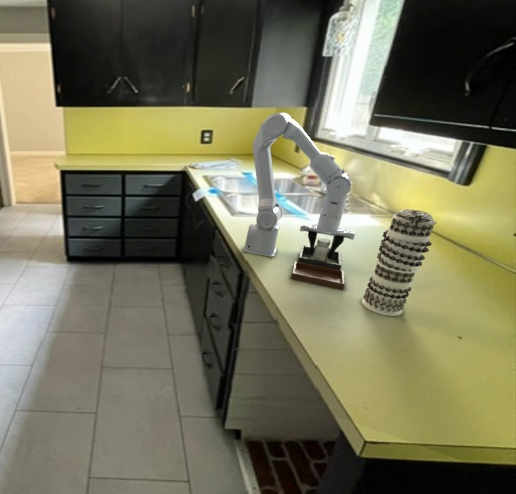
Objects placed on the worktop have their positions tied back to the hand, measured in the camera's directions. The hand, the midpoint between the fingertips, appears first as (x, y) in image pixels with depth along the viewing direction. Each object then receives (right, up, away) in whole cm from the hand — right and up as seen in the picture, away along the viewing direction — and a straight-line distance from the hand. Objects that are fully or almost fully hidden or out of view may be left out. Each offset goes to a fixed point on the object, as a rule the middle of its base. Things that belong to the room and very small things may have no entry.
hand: (319, 255), depth 114 cm
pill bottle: (0, -2, +1) cm, 3 cm away
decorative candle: (+3, -13, -22) cm, 26 cm away
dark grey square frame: (0, -2, +1) cm, 2 cm away
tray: (-6, -6, -8) cm, 12 cm away
